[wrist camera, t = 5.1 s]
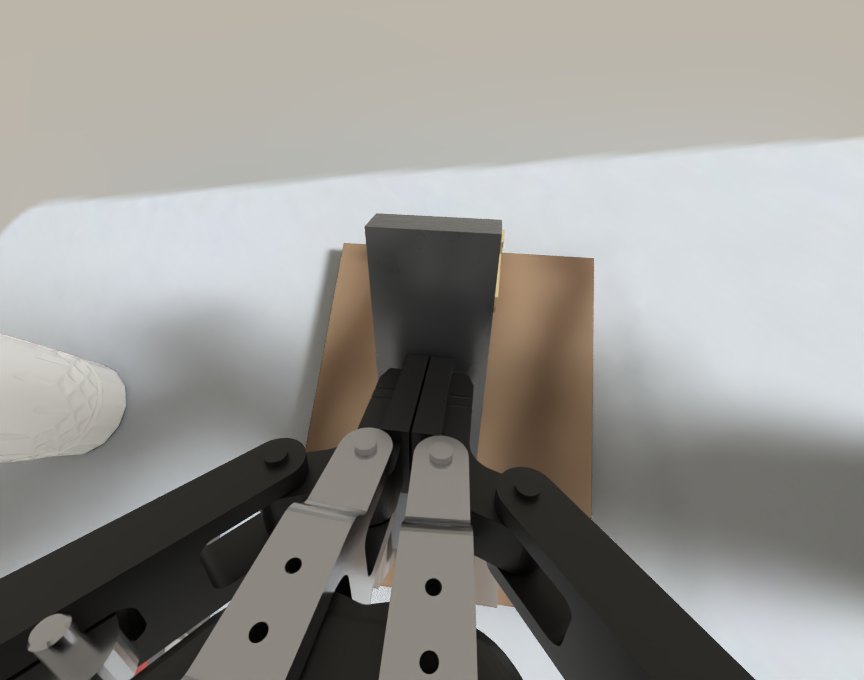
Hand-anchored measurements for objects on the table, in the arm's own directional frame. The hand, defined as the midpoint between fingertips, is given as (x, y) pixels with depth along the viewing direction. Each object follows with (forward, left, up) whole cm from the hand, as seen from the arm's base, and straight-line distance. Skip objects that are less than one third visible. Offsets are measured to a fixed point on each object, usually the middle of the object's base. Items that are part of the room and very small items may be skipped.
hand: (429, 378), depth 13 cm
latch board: (0, -1, -14) cm, 15 cm away
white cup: (+27, +2, -15) cm, 31 cm away
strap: (0, +1, -4) cm, 4 cm away
